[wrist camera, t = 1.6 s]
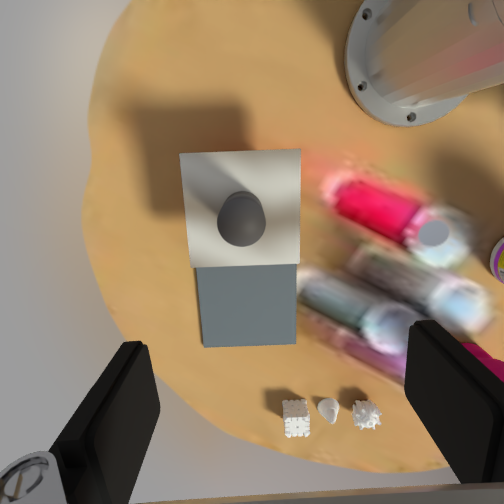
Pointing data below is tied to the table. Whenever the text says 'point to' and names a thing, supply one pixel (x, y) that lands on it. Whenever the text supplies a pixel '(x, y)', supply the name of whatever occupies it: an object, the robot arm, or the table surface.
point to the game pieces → (326, 415)
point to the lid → (242, 207)
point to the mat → (247, 305)
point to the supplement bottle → (498, 261)
